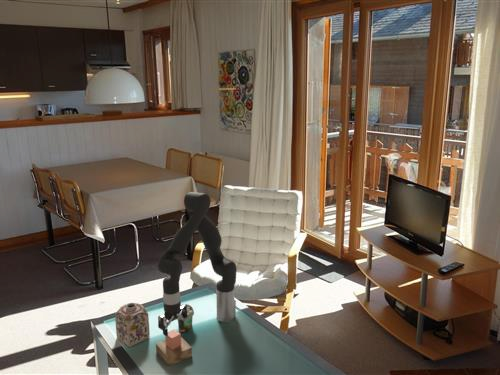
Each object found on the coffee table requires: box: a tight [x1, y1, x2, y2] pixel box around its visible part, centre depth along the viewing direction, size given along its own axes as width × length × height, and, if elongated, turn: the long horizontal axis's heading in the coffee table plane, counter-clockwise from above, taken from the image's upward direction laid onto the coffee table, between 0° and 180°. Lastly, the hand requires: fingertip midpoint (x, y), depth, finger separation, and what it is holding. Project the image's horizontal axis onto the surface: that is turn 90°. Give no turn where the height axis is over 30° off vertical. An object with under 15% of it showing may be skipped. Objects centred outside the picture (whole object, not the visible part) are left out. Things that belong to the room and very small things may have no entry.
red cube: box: [164, 329, 182, 350], centre depth 203 cm, size 5×5×6 cm
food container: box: [176, 303, 195, 334], centre depth 224 cm, size 12×6×10 cm, turn 168°
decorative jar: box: [114, 302, 151, 348], centre depth 214 cm, size 12×12×18 cm
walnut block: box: [155, 336, 193, 367], centre depth 205 cm, size 12×12×5 cm
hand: (173, 331), depth 202 cm, fingers open, 8 cm apart
